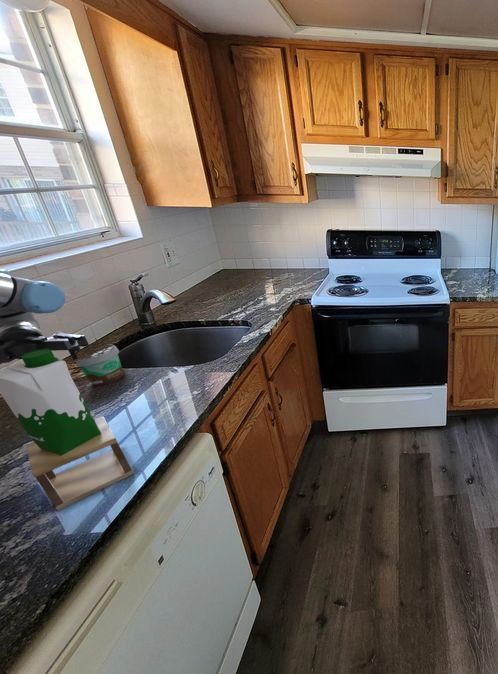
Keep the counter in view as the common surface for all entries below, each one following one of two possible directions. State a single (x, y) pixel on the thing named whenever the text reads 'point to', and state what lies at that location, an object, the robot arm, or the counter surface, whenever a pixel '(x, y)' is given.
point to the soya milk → (47, 402)
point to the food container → (102, 366)
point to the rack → (79, 468)
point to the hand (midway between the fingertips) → (28, 366)
